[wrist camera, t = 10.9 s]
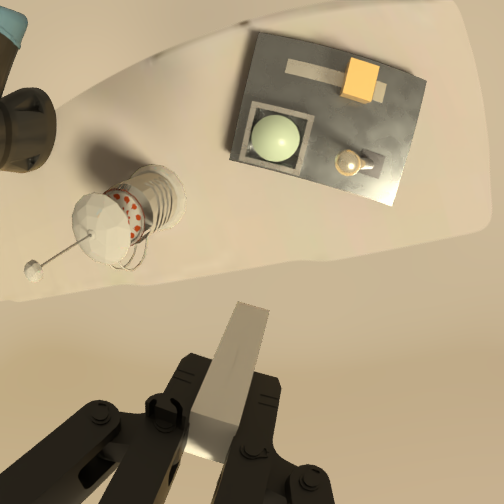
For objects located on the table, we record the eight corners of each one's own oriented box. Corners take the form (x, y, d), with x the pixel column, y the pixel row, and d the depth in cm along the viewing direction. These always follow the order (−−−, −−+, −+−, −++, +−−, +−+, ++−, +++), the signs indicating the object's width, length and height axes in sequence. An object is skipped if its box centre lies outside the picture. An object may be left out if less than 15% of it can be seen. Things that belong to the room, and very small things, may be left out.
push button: (252, 152, 36) (246, 155, 34) (261, 111, 34) (257, 110, 32) (294, 163, 36) (292, 166, 33) (304, 121, 34) (304, 121, 31)
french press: (183, 162, 42) (52, 216, 19) (190, 243, 46) (90, 353, 23) (122, 166, 43) (-17, 219, 21) (132, 241, 48) (19, 332, 25)
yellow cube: (339, 96, 32) (342, 92, 28) (347, 64, 30) (351, 57, 27) (365, 104, 32) (371, 101, 28) (372, 72, 30) (379, 66, 27)
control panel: (235, 157, 40) (223, 162, 35) (262, 38, 34) (255, 26, 29) (386, 200, 39) (396, 211, 34) (419, 83, 32) (433, 78, 27)
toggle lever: (357, 170, 35) (327, 171, 27) (363, 150, 34) (334, 145, 26) (376, 177, 34) (352, 180, 26) (382, 157, 33) (359, 153, 25)
